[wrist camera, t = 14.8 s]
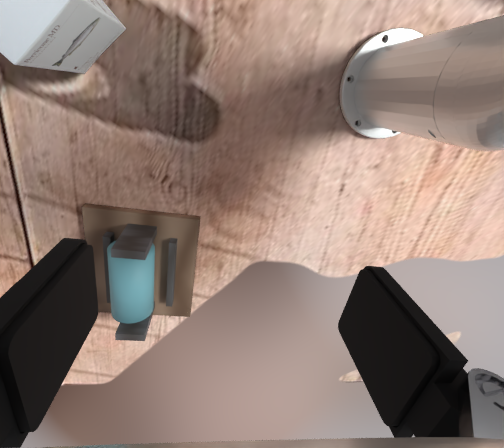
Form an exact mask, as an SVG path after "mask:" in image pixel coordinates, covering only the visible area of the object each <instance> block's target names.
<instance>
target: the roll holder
mask: <svg viewBox="0 0 504 448" xmlns="http://www.w3.org/2000/svg"><path fill="white" fill-rule="evenodd" d="M82 215H83V225H84V235H85V240H86V241H87V244H88V245H92V247H93V252H94V264H95V276H96V287H97V299H98V312H109V313H111V300H110V285H109V270H108V256H107V248H108V246H109V245H110V244H111V243H112V242H114V241H116V240H117V241H116V242H115V244H114V245H113V246H112V248H111V257H113V258H125V259H137V260H146V258H147V255H148V253H149V251H150V248H151V246H152V244H154V246H155V264H154V309H153V312H152V313H151V315H150V316H149V317H147V318H146V319H144V320H142V321H140V322H137V323H130V324H127V323H121V322H120V324H119V326H118V329H117V331H116V334H115V337H116V340H134V341H145V338H146V335H147V331H148V328H149V325H150V321H151V318H152V315H167V316H186V317H190V313H191V304H192V294H193V284H194V274H195V265H196V255H197V245H198V235H199V226H200V216H191V215H182V214H173V213H164V212H156V211H147V210H138V209H129V208H120V207H111V206H102V205H94V204H84V205H83V206H82Z"/></svg>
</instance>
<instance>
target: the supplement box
mask: <svg viewBox="0 0 504 448" xmlns="http://www.w3.org/2000/svg"><path fill="white" fill-rule="evenodd" d="M125 30H126V28H125V26H124V25H123V24H122V23H121V22H120V21H119V20H118V18H117V17H116V16H115V15H114V14H113V12H112V11H111V10H110V9H109V8H108V6H107V5H106V4H105V3H104V2H103V1H102V0H0V53H2V54H3V55H4V56H5V57H6V58H7V59H8V60H9V61H10V62H12V63H13V64H14V65H21V66H29V67H36V68H44V69H52V70H60V71H67V72H75V73H83V74H85V73H86V72H87V71H88V69H89V68H90V67H91V66H92V64H93V63H94V62H95V61H96V60H97V59H98V58H99V56H100V55H101V54H102V53H103V52H104V51H105V50H106V49H107V48H108V47H109V46H110V45H111V44H112V43H113V42H114V41H115V40H116V39H117V38H118V37H119V36H120V35H121V34H122V33H123V32H124V31H125Z"/></svg>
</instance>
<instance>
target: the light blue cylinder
mask: <svg viewBox="0 0 504 448" xmlns="http://www.w3.org/2000/svg"><path fill="white" fill-rule="evenodd" d="M116 241H117V240H116ZM116 241H114V242H112V243H111V244H110V245H109V246H108V248H107V256H108V270H109V285H110V300H111V314H112V316H113V318H114V319H115V320H116V321H118V322H121V323H127V324H130V323H137V322H140V321H142V320H144V319H146V318H147V317H149V316H150V315H151V313H152V312H153V309H154V264H155V246H154V244H152V246H151V248H150V251H149V253H148V255H147V258H146V260H137V259H125V258H113V257H111V248H112V246H113V245H114V244H115V242H116Z"/></svg>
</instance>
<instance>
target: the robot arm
mask: <svg viewBox="0 0 504 448" xmlns="http://www.w3.org/2000/svg"><path fill="white" fill-rule="evenodd" d="M382 38H383V41H382ZM348 77H349V81H347V78H348ZM340 106H341V111H342V113H343V116H344V118H345V120H346V121H347V123H348V124H349V126H350V127H351V128H352V129H353V130H354V131H356V132H357V133H359V134H361V135H363V136H366V137H369V138H375V139H385V138H389V137H393V136H396V135H398V134H400V133H405V134H409V135H413V136H417V137H421V138H425V139H429V140H433V141H437V142H441V143H446V144H450V145H454V146H458V147H462V148H467V149H471V150H477V151H499V150H504V15H503V16H500V17H496V18H492V19H488V20H484V21H480V22H476V23H472V24H468V25H465V26H461V27H457V28H453V29H449V30H445V31H441V32H437V33H433V34H429V35H426V36H423V35H422V34H421V33H419V32H417V31H415V30H412V29H408V28H394V29H389V30H386V31H383V32H381V33H379V34H377V35H374V36H373V37H371V38H370V39H368V40H367V41H366V42H364V43H363V44H362V45H361V46H360V47H359V48H358V49H357V50H356V52H355V53H354V55H353V56H352V57H351V59H350V60H349V62H348V64H347V66H346V68H345V70H344V74H343V77H342V80H341V85H340ZM356 121H357V123H356V124H355V122H356ZM97 315H98V299H97V287H96V276H95V264H94V252H93V247H92V245H88V244H87V241H86V240H82V239H71V238H64V239H62V240H61V241H60V242H59V243H58V244H57V245H56V246H55V247H54V248H53V249H52V250H51V251H50V252H49V253H48V254H46V255H45V256H44V257H43V258H42V259H41V260H40V261H39V262H38V263H37V264H36V265H35V266H34V267H33V268H32V269H31V270H30V271H29V272H28V273H27V274H26V275H25V276H23V277H22V278H21V279H20V280H19V281H18V282H16V283H15V284H14V285H13V286H12V287H11V288H10V289H9V290H8V291H7V292H6V293H5V294H4V295H3V296H2V297H1V298H0V448H20V447H21V445H22V443H23V442H24V440H25V438H26V436H27V435H28V433H29V432H34V431H35V430H36V429H37V428H38V427H39V425H40V423H41V422H42V420H43V418H44V416H45V414H46V412H47V410H48V408H49V407H50V405H51V403H52V401H53V399H54V397H55V395H56V394H57V392H58V390H59V388H60V386H61V384H62V382H63V381H64V379H65V377H66V375H67V373H68V371H69V369H70V368H71V366H72V364H73V362H74V360H75V358H76V356H77V354H78V353H79V351H80V349H81V347H82V345H83V343H84V341H85V340H86V338H87V336H88V334H89V332H90V330H91V328H92V326H93V325H94V323H95V321H96V319H97ZM338 328H339V332H340V334H341V336H342V338H343V340H344V342H345V344H346V346H347V348H348V350H349V353H350V355H351V357H352V359H353V361H354V363H355V365H356V367H357V369H358V371H359V373H360V375H361V377H362V379H363V381H364V383H365V385H366V387H367V390H368V392H369V394H370V396H371V398H372V400H373V402H374V404H375V406H376V408H377V410H378V412H379V414H380V416H381V418H382V420H383V422H384V423H385V424H386V425H387V426H389V427H390V429H391V432H392V434H393V435H394V438H349V439H302V440H261V441H260V440H259V441H221V442H220V441H218V442H183V443H149V444H115V445H87V446H67V447H46V448H504V379H503V378H502V377H500V376H498V375H496V374H494V373H492V372H490V371H487V370H484V369H479V368H478V369H472V370H471V371H469V372H468V374H467V373H466V371H465V370H464V369H463V367H464V366H465V364H466V363H467V361H468V360H467V359H466V358H465V357H464V356H463V354H462V353H461V352H460V351H459V350H458V349H457V348H456V347H455V346H454V345H453V343H452V342H451V341H450V340H449V339H448V338H447V337H446V336H445V335H444V334H443V333H442V332H441V330H440V329H439V328H438V327H437V326H436V325H435V324H434V323H433V321H432V320H431V319H430V318H429V317H428V316H427V315H426V314H425V313H424V312H423V310H422V309H421V308H420V307H419V306H418V305H417V304H416V303H415V302H414V301H413V300H412V298H411V297H410V296H409V295H408V294H407V293H406V292H405V291H404V290H403V289H402V287H401V286H400V285H399V284H398V283H397V282H396V281H395V280H394V279H393V278H392V276H391V275H390V274H389V273H388V272H387V271H386V270H385V269H384V268H382V267H374V266H366V267H365V268H364V269H362V270H361V271H360V272H359V274H358V277H357V279H356V281H355V284H354V286H353V289H352V291H351V294H350V296H349V298H348V301H347V303H346V306H345V308H344V310H343V313H342V315H341V318H340V320H339V323H338ZM413 434H414V436H415V437H412V436H413Z"/></svg>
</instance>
